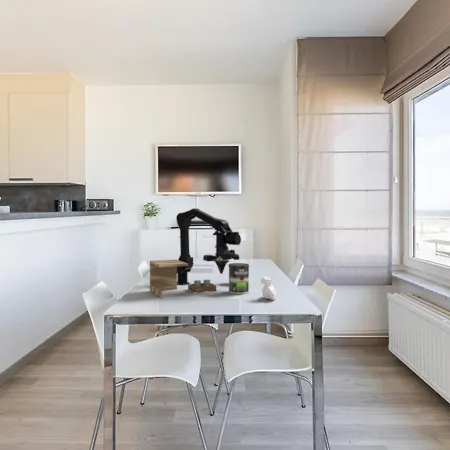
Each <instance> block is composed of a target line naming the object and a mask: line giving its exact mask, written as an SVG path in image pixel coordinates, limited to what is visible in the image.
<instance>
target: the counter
mask: <svg viewBox="0 0 450 450" xmlns="http://www.w3.org/2000/svg"><path fill="white" fill-rule="evenodd" d="M177 266H188V263H185V262H182V261H179V260H178V259H163V260H162V259H161V260H149V292H150V293H152V294H153V295H155V296H156V297H158V298H159V299H163V298H162V297H163V291H170V290H177V289H178V284H177Z"/></svg>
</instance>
